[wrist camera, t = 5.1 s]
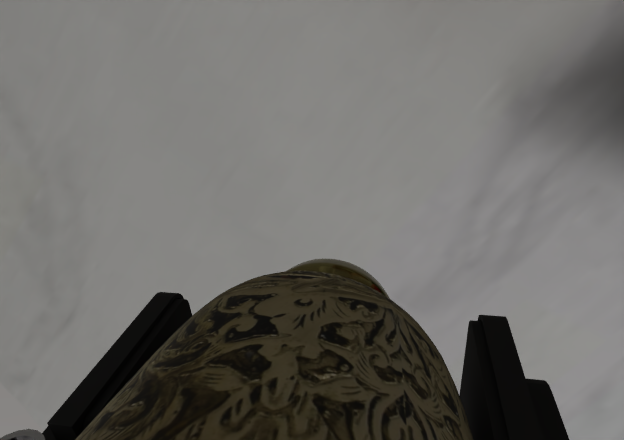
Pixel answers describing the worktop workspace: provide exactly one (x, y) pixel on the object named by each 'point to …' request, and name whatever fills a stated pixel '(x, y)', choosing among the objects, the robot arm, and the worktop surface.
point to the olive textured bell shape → (292, 368)
